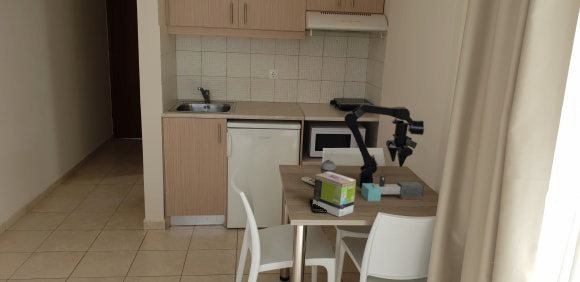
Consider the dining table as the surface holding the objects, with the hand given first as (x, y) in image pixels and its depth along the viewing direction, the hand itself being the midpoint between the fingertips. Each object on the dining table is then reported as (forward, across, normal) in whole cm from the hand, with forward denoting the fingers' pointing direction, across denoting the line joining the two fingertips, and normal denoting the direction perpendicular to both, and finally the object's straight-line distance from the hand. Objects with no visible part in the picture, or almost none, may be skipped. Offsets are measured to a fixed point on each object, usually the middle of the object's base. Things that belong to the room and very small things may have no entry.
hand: (396, 164), depth 223 cm
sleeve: (+13, -12, -2) cm, 18 cm away
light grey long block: (+11, -12, +7) cm, 18 cm away
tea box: (+13, -26, +39) cm, 49 cm away
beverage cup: (+13, -4, +36) cm, 39 cm away
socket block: (+13, -12, +17) cm, 24 cm away
